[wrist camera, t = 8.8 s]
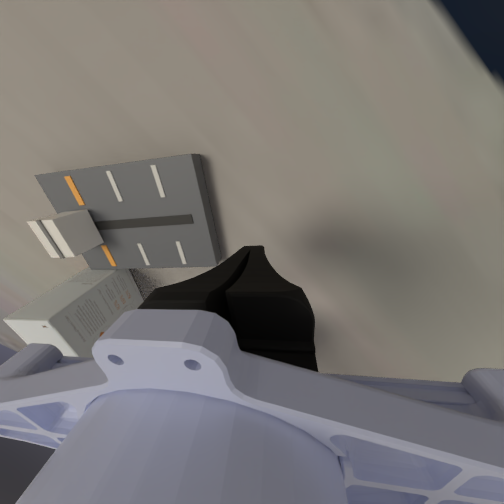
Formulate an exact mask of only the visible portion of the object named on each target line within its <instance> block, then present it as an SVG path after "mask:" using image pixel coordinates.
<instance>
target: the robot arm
mask: <svg viewBox="0 0 504 504" xmlns="http://www.w3.org/2000/svg"><path fill="white" fill-rule="evenodd" d="M314 327H315V319H314V314H313V311H312V308H311V306H310V303H309V301H308V299H307V297H306V295H305V293H304V292H303V290H302V288H300V287H298V286H296V285H294V284H292V283H290V282H288V281H287V280H285V279H284V278H282V277H281V276H280V275H279V274H278V273H277V272H276V271H275V270H274V269H273V267H272V266H271V265H270V263H269V261H268V260H267V258H266V256H265V251H264V247H263V246H244V247H242V248H241V249H240V250H238V251H237V252H236V253H235V254H233V255H232V256H231V257H230V258H228V259H227V260H225V261H224V262H222V263H221V264H220V265H218V266H216V267H215V268H213V269H211V270H209V271H207V272H205V273H203V274H201V275H198V276H196V277H194V278H191V279H188V280H185V281H182V282H179V283H176V284H172V285H168V286H164V287H160V288H156V289H155V290H154V291H153V292H152V293H151V294H150V295H149V296H148V297H147V298H146V299H145V300H144V302H143V303H142V304H141V305H140V306H139V307H138V308H137V309H135V310H131V311H126V312H124V313H123V314H122V315H121V316H120V317H119V318H118V319H117V320H116V321H115V322H114V323H113V324H112V325H111V326H110V327H109V328H108V329H107V330H106V331H105V332H104V333H103V334H102V336H101V337H100V338H99V339H98V340H97V341H96V342H95V344H94V346H93V347H92V354H93V357H94V358H87V357H72V356H63V354H62V352H61V351H60V350H59V349H58V348H57V347H56V346H54V345H51V344H40V343H30V344H29V345H27V346H26V347H25V348H23V349H22V350H21V351H19V352H18V353H17V354H15V355H14V356H13V357H11V358H10V359H9V360H7V361H6V362H5V363H4V364H2V365H1V366H0V437H6V438H11V439H16V440H22V441H26V442H30V443H34V444H38V445H42V446H46V447H50V448H53V449H56V451H55V452H54V454H53V455H52V456H51V457H50V459H49V460H48V461H47V463H46V464H45V465H44V467H43V468H42V469H41V471H40V472H39V473H38V475H37V476H36V477H35V478H34V480H33V481H32V483H31V484H30V485H29V486H28V488H27V489H26V490H25V492H24V493H23V494H22V496H21V497H20V499H19V500H18V501H17V502H16V504H504V369H492V368H476V369H473V370H470V371H468V372H467V373H466V374H465V375H464V377H463V380H462V382H461V383H457V382H442V381H428V380H413V379H398V378H383V377H368V376H354V375H339V374H324V373H319V372H318V368H317V362H316V357H315V345H314Z"/></svg>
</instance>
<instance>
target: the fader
mask: <svg viewBox="0 0 504 504" xmlns="http://www.w3.org/2000/svg"><path fill="white" fill-rule="evenodd" d="M27 223H28V224H29V226H30V227H31V229H32V230H33V231H34V233H35V234H36V236H37V237H38V239H39V240H40V241H41V243H42V244H43V246H44V247H45V249H46V250H47V252H48V253H49V254H50V256H51V257H52V258H58V257H60V258H65V257H76V256H78V255H80V254H82V253H84V252H86V251H88V250H90V249H92V248H94V247H96V246H98V245H100V244H102V243H104V241H103V239H102V237H101V235H100V234H99V232H98V230H97V228H96V226H95V224H94V222H93V220H92V218H91V216H90V214H89V212H88V211H87V210H78V211H67V212H62V213H58V214H54V215H50V216H47V217H43V218H39V219H35V220H31V221H28V222H27Z"/></svg>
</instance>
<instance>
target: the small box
mask: <svg viewBox="0 0 504 504" xmlns="http://www.w3.org/2000/svg"><path fill="white" fill-rule="evenodd" d="M143 302H144V300H143V298H142V296H141V293H140V291H139V289H138V287H137V285H136V283H135V281H134V279H133V277H132V275H131V272H130V270H129V269H98V270H91V269H90V267H88V268H86V269H84V270H83V271H81V272H79V273H78V274H76V275H74V276H73V277H71V278H69V279H68V280H66V281H64V282H63V283H61V284H59V285H58V286H56V287H55V288H53V289H51V290H50V291H48V292H46V293H45V294H43V295H41V296H40V297H38V298H36V299H35V300H33V301H31V302H30V303H28V304H27V305H25V306H23V307H22V308H20V309H18V310H17V311H15V312H13V313H12V314H10V315H9V316H7V317H5V318H4V319H3V321H5V322H6V323H7V324H8V325H9V326H10V327H11V328H12V329H13V330H14V331H15V332H16V333H17V334H18V335H19V336H20V337H21V338H22V339H23V340H24V341H25V342H26V343H27V344H28V345H29V344H30V343H40V344H51V345H54V346H56V347H57V348H58V349H59V350H60V351H61V352H62V354H63V356H72V357H87V358H94V357H93V354H92V347H93V346H94V344H95V342H96V341H97V340H98V339H99V338H100V337H101V336H102V334H103V333H104V332H105V331H106V330H107V329H108V328H109V327H110V326H111V325H112V324H113V323H114V322H115V321H116V320H117V319H118V318H119V317H120V316H121V315H122V314H123V313H124V312H126V311H131V310H135V309H137V308H138V307H139V306H140V305H141V304H142V303H143Z"/></svg>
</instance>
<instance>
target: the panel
mask: <svg viewBox="0 0 504 504" xmlns="http://www.w3.org/2000/svg"><path fill="white" fill-rule="evenodd" d="M35 177H36V179H37V180H38V182H39V184H40V185H41V187H42V189H43V190H44V192H45V194H46V195H47V197H48V199H49V200H50V202H51V204H52V205H53V207H54V209H55V210H56V212H57V214H58V213H62V212H67V211H78V210H87V211H88V212H89V214H90V216H91V218H92V220H93V222H94V224H95V226H96V228H97V230H98V232H99V234H100V235H101V237H102V239H103V241H104V243H102V244H100V245H98V246H96V247H94V248H92V249H90V250H88V251H86V252H84V253H82V255H83V257H84V259H85V260H86V262H87V264H88V265H89V267H90V269H91V270H98V269H135V268H173V267H210V266H217V265H218V264H219V262H220V260H221V253H220V249H219V244H218V239H217V235H216V230H215V225H214V220H213V216H212V211H211V206H210V202H209V197H208V192H207V188H206V183H205V178H204V173H203V169H202V164H201V159H200V155H199V154H186V155H179V156H171V157H164V158H157V159H149V160H142V161H135V162H127V163H120V164H113V165H105V166H98V167H91V168H83V169H76V170H69V171H61V172H54V173H47V174H39V175H35Z"/></svg>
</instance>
